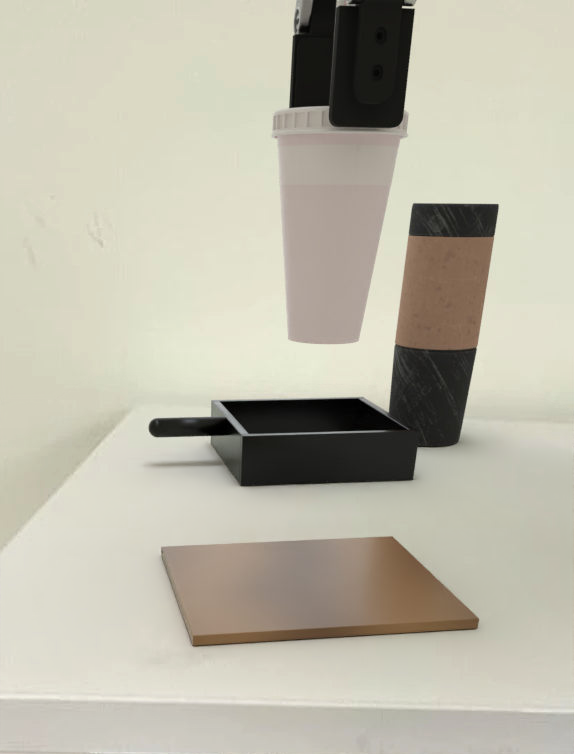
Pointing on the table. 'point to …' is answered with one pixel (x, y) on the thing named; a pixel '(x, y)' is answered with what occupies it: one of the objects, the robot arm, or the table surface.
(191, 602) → the brown mat
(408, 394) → the travel mug
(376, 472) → the pan
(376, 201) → the smoothie
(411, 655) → the table surface
